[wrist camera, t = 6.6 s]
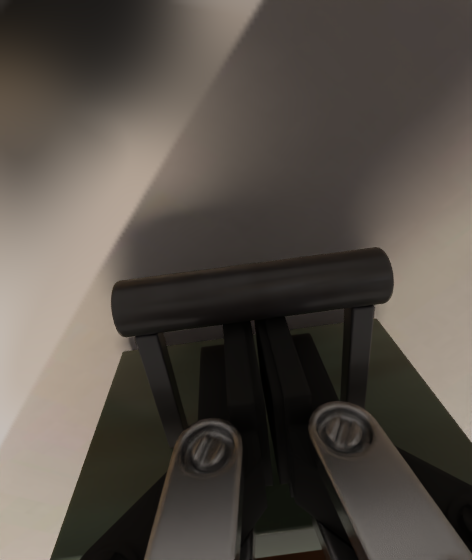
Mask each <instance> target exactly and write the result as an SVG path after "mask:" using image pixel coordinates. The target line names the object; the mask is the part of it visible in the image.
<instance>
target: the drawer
mask: <svg viewBox="0 0 472 560" xmlns="http://www.w3.org/2000/svg"><path fill="white" fill-rule="evenodd" d="M393 286H394V279H393V271H392V267H391V263H390V261H389V258H388V256H387V255H386V253H385V252H384V251H383V250H382V249H380V248H377V247H374V248H367V249H359V250H351V251H344V252H336V253H328V254H321V255H313V256H306V257H298V258H290V259H283V260H275V261H267V262H260V263H252V264H244V265H237V266H229V267H221V268H214V269H206V270H198V271H191V272H183V273H175V274H168V275H160V276H152V277H145V278H137V279H130V280H122V281H118V282H116V283H115V285H114V287H113V290H112V296H111V309H112V316H113V320H114V324H115V326H116V329H117V331H118V333H119V334H120V335H121V336H123V337H132V336H135V341H136V344H137V347H138V350H132V351H125V352H123V353H122V356H121V359H120V362H119V365H118V367H117V370H116V373H115V376H114V379H113V382H112V385H111V387H110V390H109V393H108V396H107V399H106V402H105V404H104V407H103V410H102V413H101V416H100V419H99V422H98V424H97V427H96V430H95V433H94V436H93V439H92V442H91V444H90V447H89V450H88V453H87V456H86V459H85V461H84V464H83V467H82V470H81V473H80V476H79V479H78V481H77V484H76V487H75V490H74V493H73V496H72V498H71V501H70V504H69V507H68V510H67V513H66V516H65V518H64V521H63V524H62V527H61V530H60V533H59V536H58V538H57V541H56V544H55V547H54V550H53V553H52V555H51V558H50V560H80V559H81V557H82V556H83V555H84V554H85V552H86V551H87V550H88V549H89V548H90V547H91V546H92V545H93V544H94V543H95V542H96V541H97V540H98V539H99V538H100V537H101V536H102V535H103V534H104V533H105V532H106V531H107V530H108V529H109V528H110V527H111V526H112V525H113V524H114V523H116V522H117V521H118V520H119V519H120V518H121V517H122V516H123V515H124V514H125V513H126V512H127V511H128V510H129V509H130V508H131V507H132V506H133V505H134V504H135V503H136V502H137V501H138V500H139V499H140V498H141V497H142V496H143V495H144V494H145V493H146V492H147V491H148V490H149V489H150V488H151V487H152V486H153V485H154V484H155V483H156V482H157V481H158V480H159V479H160V478H161V477H162V476H163V475H164V474H165V473H166V472H167V471H168V467H169V463H170V460H171V456H172V452H173V448H174V446H175V443H176V441H177V439H178V437H179V436H180V434H181V433H182V432H183V431H184V429H186V428H187V427H188V426H190V425H191V424H192V423H194V422H197V421H198V402H199V377H200V353H201V347H205V346H213V345H220V344H224V338H223V339H216V340H208V341H201V342H193V343H185V344H178V345H170V346H167V345H166V341H165V337H164V334H163V332H170V331H178V330H185V329H193V328H200V327H208V326H216V325H223V324H231V323H238V322H246V321H254V320H261V319H269V318H276V317H284V316H292V315H299V314H307V313H314V312H322V311H330V310H337V309H344V323H337V324H330V325H322V326H314V327H307V328H299V329H292V330H289V331H290V334H291V335H296V334H303V333H310V334H311V336H312V338H313V341H314V343H315V345H316V348H317V350H318V352H319V355H320V357H321V359H322V362H323V364H324V366H325V369H326V371H327V373H328V375H329V378H330V380H331V382H332V385H333V387H334V389H335V392H336V394H337V396H338V399H339V401H343V402H350V403H352V404H355V405H358V406H360V407H362V408H363V409H365V410H366V411H368V412H369V413H370V414H371V415H372V416H373V417H374V418H375V419H376V421H377V422H378V424H379V425H380V426H381V428H382V429H383V430H384V432H385V433H386V435H387V436H388V437H389V439H390V440H391V442H392V443H393V444H394V445H395V446H397V447H399V448H400V449H402V450H404V451H406V452H408V453H410V454H412V455H414V456H416V457H418V458H420V459H422V460H424V461H425V462H427V463H429V464H431V465H433V466H435V467H437V468H439V469H441V470H443V471H445V472H447V473H449V474H450V475H452V476H454V477H456V478H458V479H460V480H462V481H464V482H466V483H468V484H470V485H472V442H471V441H470V440H469V439H468V437H467V436H466V435H465V433H464V432H463V431H462V429H461V428H460V427H459V425H458V424H457V423H456V422H455V420H454V419H453V418H452V416H451V415H450V414H449V412H448V411H447V410H446V408H445V407H444V406H443V405H442V403H441V402H440V401H439V399H438V398H437V397H436V395H435V394H434V393H433V391H432V390H431V389H430V388H429V386H428V385H427V384H426V382H425V381H424V380H423V378H422V377H421V376H420V374H419V373H418V372H417V371H416V369H415V368H414V367H413V365H412V364H411V363H410V361H409V360H408V359H407V358H406V356H405V355H404V354H403V352H402V351H401V350H400V348H399V347H398V346H397V344H396V343H395V342H394V341H393V339H392V338H391V337H390V335H389V334H388V333H387V331H386V330H385V329H384V327H383V326H382V325H381V324H380V322H379V321H378V320H377V319H374V309H375V307H374V305H375V304H383V303H386V302H387V301H389V299H390V298H391V296H392V293H393ZM253 339H254V344H255V350H256V355H257V361H258V366H259V360H258V351H257V341H256V334H254V335H253ZM259 372H260V369H259ZM261 383H262V382H261ZM263 394H264V393H263ZM264 401H265V399H264ZM265 408H266V405H265ZM266 418H267V428H268V437H269V447H270V457H271V467H272V476H273V485H272V486H265V488H266V496H267V505H268V507H267V509H266V510H265V511H264V513H263V514H262V516H261V517H260V518H259V520H258V521H257V523H256V524H255V527H256V545H255V560H326V558H325V555H324V553H323V550H322V547H321V545H320V542H319V540H318V537H317V534H316V532H315V529H314V527H313V524H312V520H311V516H310V514H309V513H308V512H306V511H305V510H304V509H302V508H301V507H300V506H299V505H297V504H296V503H295V500H294V497H292V498H291V495H290V490H289V486H288V483H287V484H280V481H279V476H278V471H277V465H276V460H275V454H274V449H273V443H272V438H271V432H270V427H269V421H268V416H267V410H266Z"/></svg>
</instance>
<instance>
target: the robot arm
mask: <svg viewBox="0 0 472 560" xmlns="http://www.w3.org/2000/svg"><path fill="white" fill-rule="evenodd" d="M254 322H255V332H256V341H257V351H258V360H259V366H258V361H257V355H256V350H255V344H254V339H253V333H252V328H251V322H250V321H246V322H238V323H231V324H223V334H224V344H220V345H213V346H205V347H201V353H200V377H199V402H198V421H197V422H194V423H192V424H191V425H190V426H188V427H187V428H186V429H184V431H183V432H182V433H181V434H180V436H179V437H178V439H177V441H176V443H175V446H174V448H173V452H172V456H171V460H170V463H169V467H168V471H167V472H166V473H165V474H164V475H163V476H162V477H161V478H160V479H159V480H158V481H157V482H156V483H155V484H154V485H153V486H152V487H151V488H150V489H149V490H148V491H147V492H146V493H145V494H144V495H143V496H142V497H141V498H140V499H139V500H138V501H137V502H136V503H135V504H134V505H133V506H132V507H131V508H130V509H129V510H128V511H127V512H126V513H125V514H124V515H123V516H122V517H121V518H120V519H119V520H118V521H117V522H116V523H114V524H113V525H112V526H111V527H110V528H109V529H108V530H107V531H106V532H105V533H104V534H103V535H102V536H101V537H100V538H99V539H98V540H97V541H96V542H95V543H94V544H93V545H92V546H91V547H90V548H89V549H88V550H87V551H86V552H85V554H84V555H83V556H82V557H81V559H80V560H255V545H256V527H255V524H256V523H257V521H258V520H259V518H260V517H261V516H262V514H263V513H264V511H265V510H266V509H267V507H268V505H267V496H266V488H265V486H272V485H273V476H272V467H271V457H270V447H269V437H268V428H267V418H266V410H267V416H268V421H269V427H270V432H271V438H272V443H273V449H274V454H275V460H276V465H277V471H278V476H279V481H280V484H287V483H288V486H289V490H290V495H291V498H292V497H294V500H295V503H296V504H297V505H299V506H300V507H301V508H302V509H304V510H305V511H306V512H308V513H309V514H310V516H311V520H312V524H313V527H314V529H315V532H316V534H317V537H318V540H319V542H320V545H321V547H322V550H323V553H324V555H325V558H326V560H472V485H470V484H468V483H466V482H464V481H462V480H460V479H458V478H456V477H454V476H452V475H450V474H449V473H447V472H445V471H443V470H441V469H439V468H437V467H435V466H433V465H431V464H429V463H427V462H425V461H424V460H422V459H420V458H418V457H416V456H414V455H412V454H410V453H408V452H406V451H404V450H402V449H400V448H399V447H397V446H395V445H394V444H393V443H392V442H391V440H390V439H389V437H388V436H387V435H386V433H385V432H384V430H383V429H382V428H381V426H380V425H379V424H378V422H377V421H376V419H375V418H374V417H373V416H372V415H371V414H370V413H369V412H368V411H366V410H365V409H363V408H362V407H360V406H358V405H355V404H352V403H350V402H343V401H339V399H338V396H337V394H336V392H335V389H334V387H333V385H332V382H331V380H330V378H329V375H328V373H327V371H326V369H325V366H324V364H323V362H322V359H321V357H320V355H319V352H318V350H317V348H316V345H315V343H314V341H313V338H312V336H311V334H310V333H303V334H296V335H291V334H290V331H289V328H288V325H287V322H286V319H285V316H284V317H276V318H269V319H261V320H254ZM259 369H260V372H259ZM261 382H262V383H261ZM263 393H264V394H263ZM264 399H265V401H264ZM265 405H266V408H265Z"/></svg>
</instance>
